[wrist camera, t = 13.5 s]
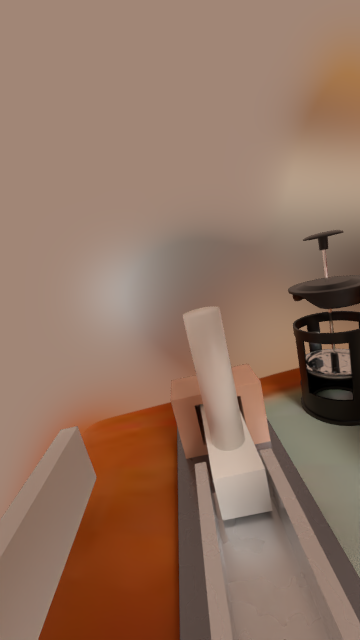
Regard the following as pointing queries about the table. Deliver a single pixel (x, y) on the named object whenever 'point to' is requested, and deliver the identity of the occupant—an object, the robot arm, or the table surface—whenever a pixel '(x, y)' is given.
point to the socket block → (189, 401)
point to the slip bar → (225, 420)
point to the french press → (329, 364)
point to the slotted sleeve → (261, 561)
